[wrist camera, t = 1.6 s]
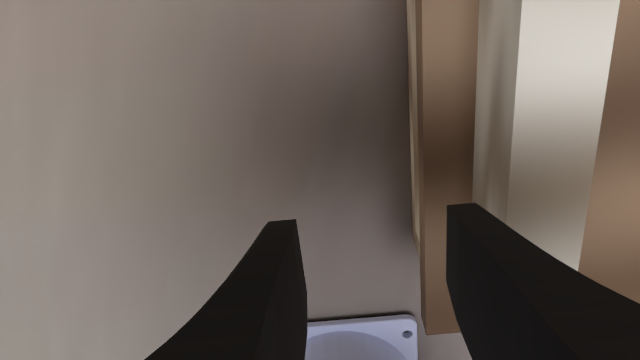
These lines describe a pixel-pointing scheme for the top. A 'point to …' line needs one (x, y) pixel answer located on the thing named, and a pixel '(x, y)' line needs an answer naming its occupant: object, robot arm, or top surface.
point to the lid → (530, 133)
